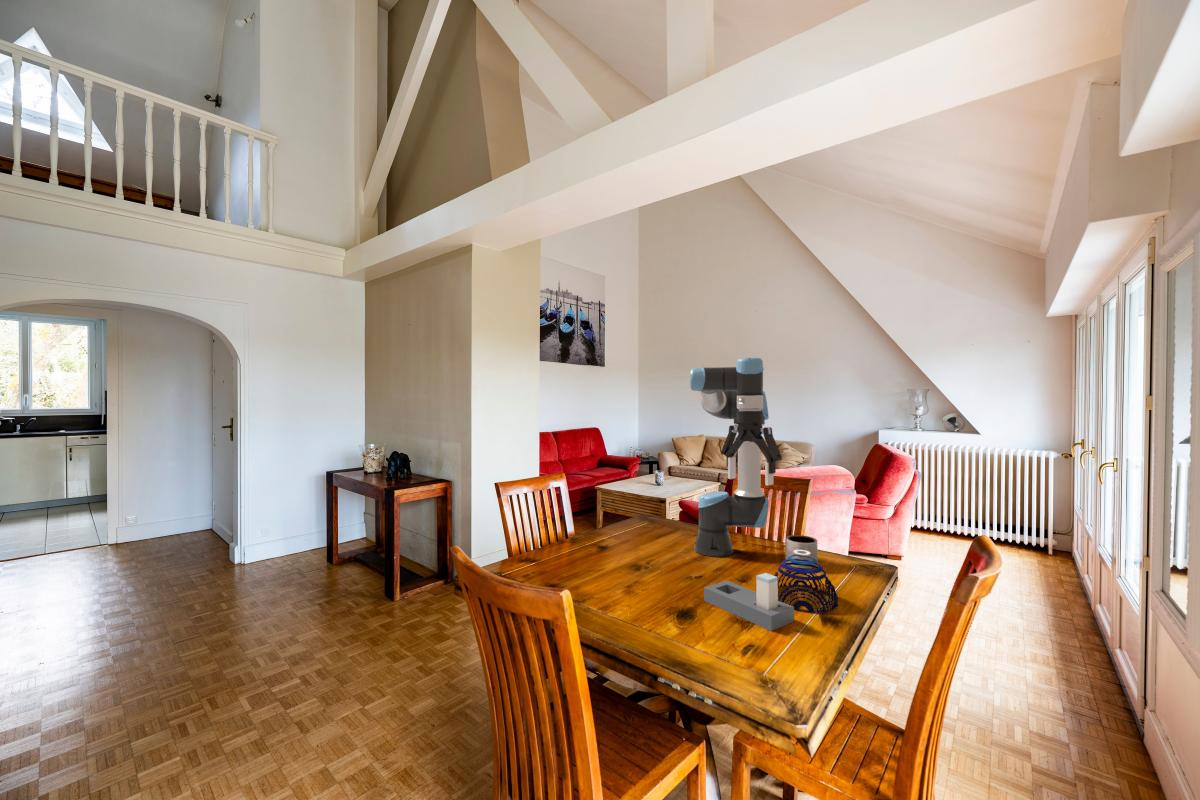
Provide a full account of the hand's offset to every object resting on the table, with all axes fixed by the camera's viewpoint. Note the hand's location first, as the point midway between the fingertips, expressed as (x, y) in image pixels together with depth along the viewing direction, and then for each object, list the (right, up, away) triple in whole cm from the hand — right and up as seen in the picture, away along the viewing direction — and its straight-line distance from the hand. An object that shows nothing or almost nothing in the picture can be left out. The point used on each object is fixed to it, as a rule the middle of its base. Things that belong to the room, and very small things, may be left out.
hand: (749, 481), depth 148 cm
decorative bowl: (+17, -37, +5) cm, 41 cm away
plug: (+2, -37, -9) cm, 38 cm away
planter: (+30, -37, +35) cm, 59 cm away
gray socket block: (-2, -37, -4) cm, 37 cm away
